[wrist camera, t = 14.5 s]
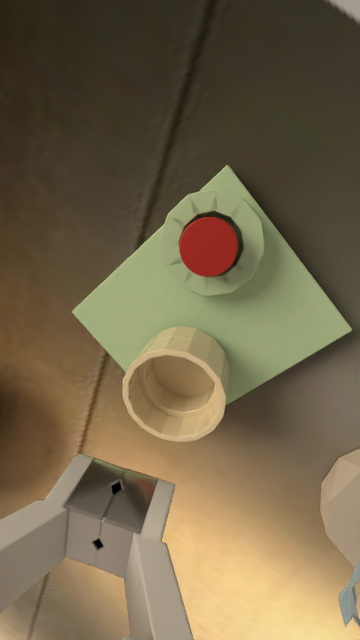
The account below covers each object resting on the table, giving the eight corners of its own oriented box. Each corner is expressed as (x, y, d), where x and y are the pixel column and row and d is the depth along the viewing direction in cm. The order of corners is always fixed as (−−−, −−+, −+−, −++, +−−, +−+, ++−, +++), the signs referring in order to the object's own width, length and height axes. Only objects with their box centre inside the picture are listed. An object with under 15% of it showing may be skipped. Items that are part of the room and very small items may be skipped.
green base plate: (228, 167, 19) (225, 158, 16) (346, 323, 20) (362, 339, 18) (79, 306, 24) (58, 317, 21) (183, 422, 26) (175, 447, 23)
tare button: (215, 205, 17) (212, 203, 16) (249, 248, 18) (250, 251, 16) (174, 241, 18) (167, 244, 17) (207, 281, 19) (203, 288, 17)
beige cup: (190, 306, 21) (177, 328, 17) (246, 374, 22) (247, 411, 17) (128, 355, 23) (102, 385, 19) (181, 415, 24) (167, 456, 20)
